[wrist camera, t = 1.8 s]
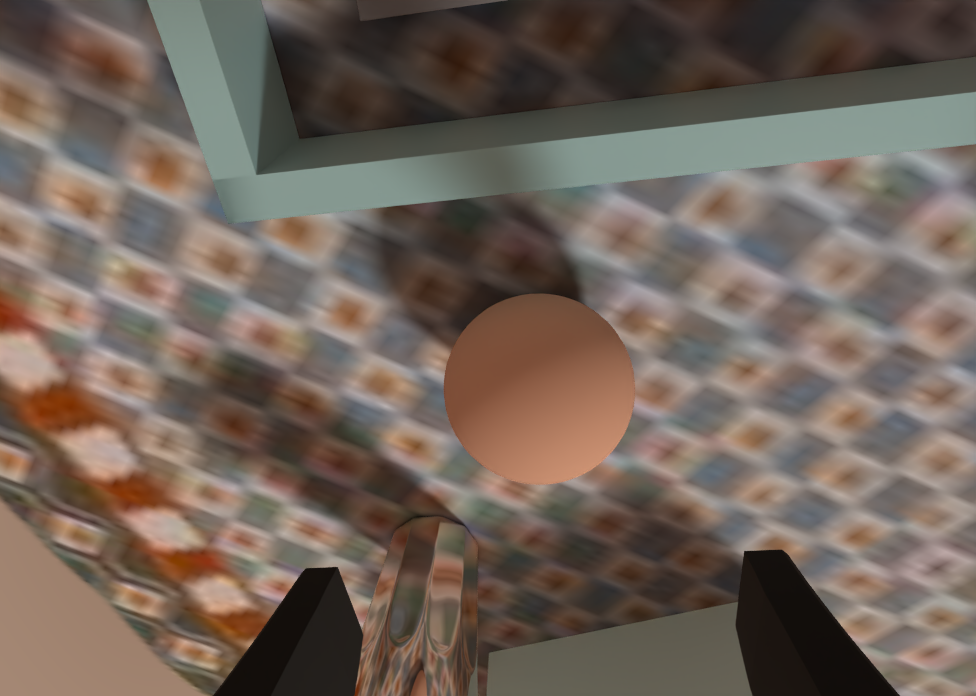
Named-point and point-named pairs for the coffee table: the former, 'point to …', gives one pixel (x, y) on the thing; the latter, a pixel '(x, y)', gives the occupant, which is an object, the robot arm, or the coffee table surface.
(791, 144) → the divider wall
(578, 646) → the right angle wall
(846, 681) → the robot arm
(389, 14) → the tray
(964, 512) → the coffee table surface
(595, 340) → the ball
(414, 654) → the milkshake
